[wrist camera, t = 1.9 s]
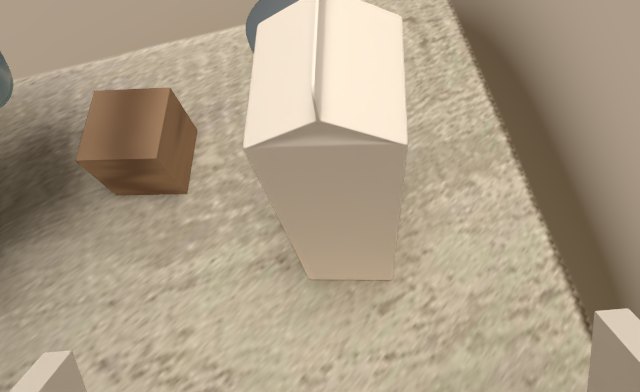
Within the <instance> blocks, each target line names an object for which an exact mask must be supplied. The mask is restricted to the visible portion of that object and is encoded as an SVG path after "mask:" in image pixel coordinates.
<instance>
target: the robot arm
mask: <svg viewBox="0 0 640 392" xmlns="http://www.w3.org/2000/svg"><path fill="white" fill-rule="evenodd" d="M12 90H13V79H12V75H11V72H10V69H9V67H8V65H7V63H6V61H5V59H4V57H3V55H2V54H1V52H0V108H1V107H2V106H4V105H5V104H6V102H7V101H8V100H9V99H10V97H11V94H12ZM9 392H87V391H86V388H85V385H84V383H83V380H82V377H81V374H80V372H79V369H78V366H77V363H76V360H75V358H74V355H73V352H72V350H71V351H58V352H45V353H43V354H42V355H41V357H40V358H39V359H38V360H37V361H36V362H35V363H34V364H33V366H32V367H31V368H30V369H29V370H28V371H27V372H26V373H25V375H24V376H23V377H22V378H21V379H20V380H19V381H18V382H17V384H16V385H15V386H14V387H13V388H12V389H11V390H10V391H9ZM587 392H640V320H639V319H638V318H637V317H636V316H635V315H634V314H633V313H632V312H631V311H630V310H629V309H616V310H603V311H595V315H594V325H593V336H592V346H591V357H590V367H589V378H588V388H587Z"/></svg>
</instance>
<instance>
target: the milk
mask: <svg viewBox="0 0 640 392" xmlns="http://www.w3.org/2000/svg"><path fill="white" fill-rule="evenodd" d="M407 148H408V133H407V111H406V89H405V67H404V45H403V23H402V18H401V16H399V15H397V14H394V13H392V12H389V11H387V10H384V9H382V8H379V7H377V6H374V5H372V4H369V3H366V2H364V1H361V0H299V1H297V2H295V3H293V4H292V5H290V6H288V7H287V8H285V9H283V10H281V11H280V12H278V13H276V14H274V15H273V16H271V17H269V18H268V19H266V20H264V21H262V22H261V23H259V24H258V26H257V32H256V41H255V49H254V57H253V66H252V74H251V83H250V91H249V99H248V108H247V116H246V125H245V133H244V141H243V149H244V152H245V153H246V155H247V157H248V159H249V161H250V163H251V165H252V167H253V169H254V171H255V173H256V175H257V177H258V179H259V181H260V183H261V185H262V187H263V189H264V191H265V193H266V195H267V197H268V199H269V201H270V203H271V205H272V207H273V209H274V210H275V212H276V214H277V216H278V218H279V220H280V222H281V224H282V226H283V228H284V230H285V232H286V234H287V236H288V238H289V240H290V242H291V244H292V246H293V248H294V250H295V252H296V254H297V256H298V258H299V260H300V262H301V264H302V265H303V267H304V269H305V271H306V273H307V275H308V277H309V279H311V280H392V279H393V271H394V262H395V253H396V244H397V236H398V227H399V218H400V209H401V201H402V192H403V183H404V174H405V165H406V157H407Z"/></svg>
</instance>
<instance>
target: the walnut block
mask: <svg viewBox="0 0 640 392" xmlns="http://www.w3.org/2000/svg"><path fill="white" fill-rule="evenodd" d="M196 136H197V129H196V127H195V126H194V124H193V123H192V121H191V120H190V118H189V116H188V115H187V113H186V112H185V110H184V109H183V107H182V105H181V104H180V102H179V101H178V99H177V98H176V96H175V94H174V93H173V91H172V90H171V88H150V89H128V90H106V91H94V94H93V98H92V101H91V105H90V109H89V112H88V116H87V120H86V123H85V127H84V131H83V134H82V138H81V142H80V145H79V149H78V153H77V156H76V160H75V161H76V162H78V163H79V164H80V165H81V166H82V167H84V168H85V169H86V170H87V171H88V172H90V173H91V174H92V175H93V176H94V177H96V178H97V179H98V180H99V181H100V182H102V183H103V184H104V185H105V186H106V187H108V188H109V189H110V190H111V191H112V192H114V193H115V194H116V195H153V194H187V192H188V186H189V180H190V173H191V167H192V161H193V154H194V148H195V142H196Z"/></svg>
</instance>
